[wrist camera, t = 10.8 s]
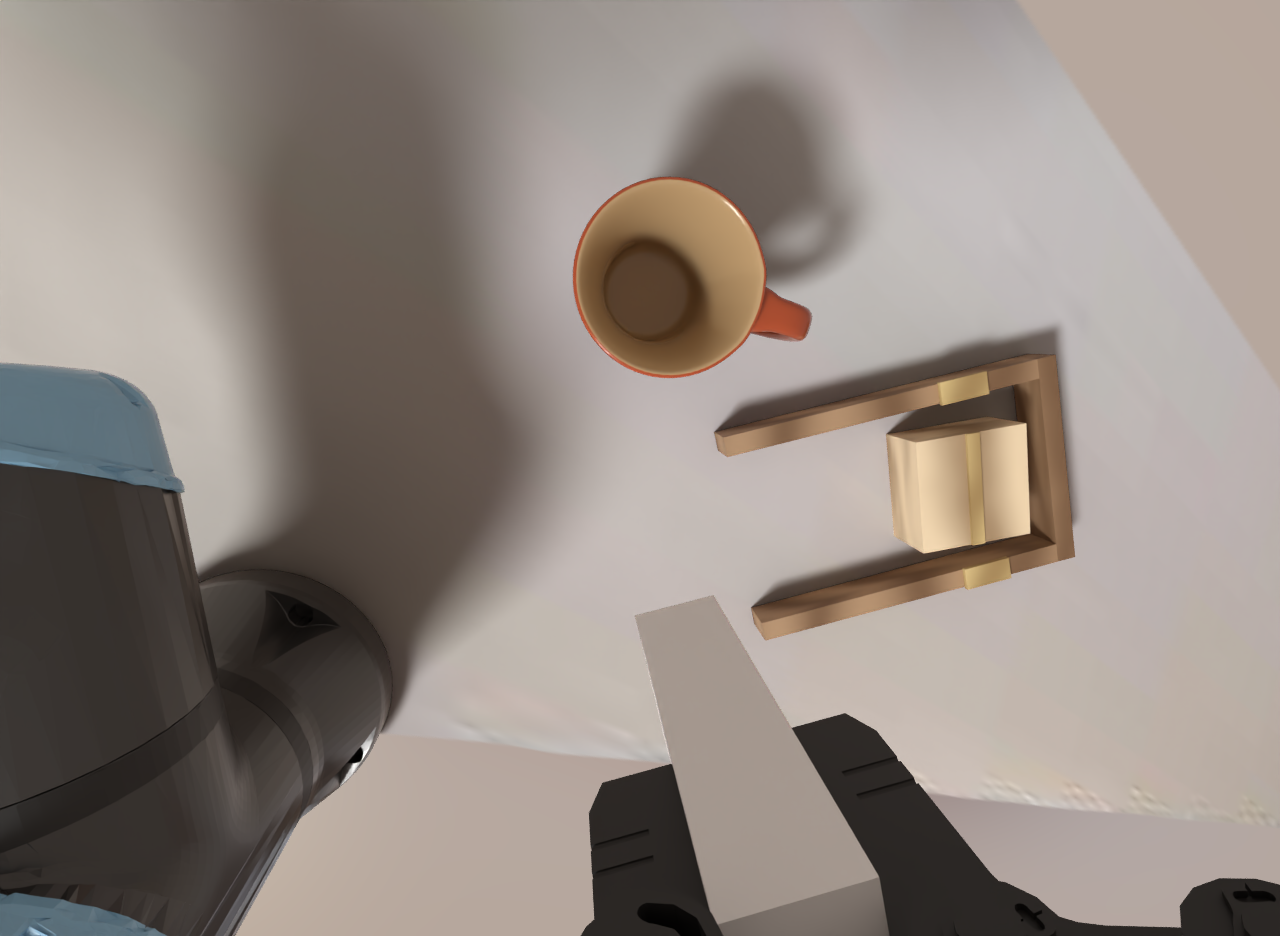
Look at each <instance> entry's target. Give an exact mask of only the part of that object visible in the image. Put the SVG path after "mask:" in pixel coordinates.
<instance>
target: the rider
mask: <svg viewBox="0 0 1280 936" xmlns="http://www.w3.org/2000/svg"><path fill="white" fill-rule="evenodd" d="M886 439H887V451H888V464H889V477H890V489H891V502H892V515H893V527H894V536H895V537H897V538H898V539H900V540H902V541H903V542H905V543H907V544H908V545H910V546H912V547H913V548H915V549H917V550H918V551H920V552H922V553H923V554H924V553H929V552H935V551H940V550H945V549H950V548H956V547H961V546H966V545H979V544H984V543H985V542H988V541H993V540H998V539H1004V538H1009V537H1014V536H1019V535H1025V534H1030V510H1029V482H1028V455H1027V427H1026V423H1022V422H1016V421H1010V420H1005V419H999V418H993V417H982V418H976V419H970V420H965V421H959V422H953V423H948V424H942V425H936V426H930V427H925V428H919V429H913V430H908V431H902V432H896V433H890V434H886Z"/></svg>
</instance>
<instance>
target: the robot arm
mask: <svg viewBox="0 0 1280 936" xmlns="http://www.w3.org/2000/svg"><path fill="white" fill-rule="evenodd" d="M183 492H185V491H184V485H183V484H182V482H181V480H180V479H178V478H177V477H175V475H174V472H173V469H172V466H171V462H170V458H169V455H168V451H167V448H166V444H165V441H164V437H163V434H162V430H161V426H160V423H159V419H158V416H157V413H156V410H155V408H154V406H153V404H152V403H151V401H150V400H149V399H148V397H147V396H146V395H145V394H144V393H143V392H142V391H141V390H140V389H138V388H137V387H136V386H134V385H133V384H131V383H129V382H128V381H126V380H124V379H121V378H119V377H117V376H114V375H111V374H108V373H104V372H99V371H93V370H86V369H76V368H65V367H54V366H43V365H29V364H14V363H0V936H235V935H236V933H237V931H238V929H239V928H240V926H241V924H242V922H243V921H244V919H245V917H246V915H247V913H248V912H249V910H250V908H251V906H252V904H253V903H254V901H255V899H256V897H257V895H258V893H259V892H260V890H261V888H262V886H263V885H264V883H265V881H266V879H267V877H268V875H269V874H270V872H271V870H272V868H273V867H274V865H275V863H276V861H277V859H278V857H279V856H280V854H281V852H282V850H283V848H284V847H285V845H286V843H287V841H288V840H289V838H290V836H291V834H292V832H293V830H294V828H295V827H296V825H297V823H298V821H299V819H300V818H301V817H303V816H304V815H305V814H307V813H308V812H309V811H310V810H312V809H313V808H314V807H315V806H317V805H318V804H319V803H320V802H322V801H323V800H324V799H325V798H326V797H328V796H329V795H330V794H332V793H333V792H334V791H335V790H337V789H338V788H339V787H340V786H341V785H343V784H344V783H345V782H346V781H347V780H348V779H349V778H350V777H351V776H352V775H353V774H354V773H355V772H356V771H357V770H358V768H359V767H360V766H361V765H362V763H363V762H364V761H365V759H366V758H367V757H368V755H369V753H370V752H371V750H372V748H373V746H374V744H375V742H376V740H377V738H378V736H379V734H380V732H381V730H382V728H383V726H384V723H385V721H386V718H387V715H388V712H389V708H390V703H391V696H392V675H391V668H390V664H389V660H388V656H387V653H386V650H385V648H384V645H383V643H382V641H381V639H380V637H379V635H378V634H377V632H376V630H375V629H374V627H373V626H372V625H371V623H370V622H369V621H368V619H367V618H366V617H365V616H364V615H363V614H362V613H361V611H360V610H359V609H358V608H356V607H355V606H354V605H353V604H352V603H351V602H350V601H348V600H347V599H346V598H345V597H343V596H342V595H340V594H339V593H337V592H336V591H334V590H332V589H331V588H329V587H327V586H325V585H323V584H321V583H319V582H316V581H314V580H311V579H309V578H306V577H303V576H299V575H295V574H291V573H286V572H280V571H272V570H246V571H238V572H232V573H227V574H223V575H219V576H216V577H213V578H210V579H208V580H205V581H203V582H201V583H199V581H198V577H197V572H196V567H195V562H194V557H193V552H192V548H191V543H190V538H189V533H188V528H187V523H186V519H185V514H184V509H183V504H182V499H181V494H180V493H183ZM635 619H636V623H637V627H638V631H639V635H640V639H641V643H642V647H643V652H644V656H645V660H646V664H647V668H648V672H649V676H650V680H651V684H652V689H653V693H654V697H655V701H656V705H657V709H658V713H659V717H660V721H661V726H662V730H663V734H664V738H665V742H666V746H667V750H668V754H669V758H670V762H671V764H669V765H665V766H662V767H658V768H655V769H651V770H647V771H644V772H640V773H637V774H633V775H629V776H626V777H622V778H619V779H615V780H611V781H608V782H604V783H602V785H601V787H600V789H599V792H598V794H597V796H596V798H595V801H594V803H593V805H592V808H591V810H590V813H589V824H590V842H591V849H592V851H591V861H592V874H593V901H594V920H593V921H592V922H591V923H590V924H589V925H588V926H587V927H586V928H585V930H584V931H583V933H582V935H581V936H1280V885H1278V884H1274V883H1270V882H1266V881H1262V880H1258V879H1227V878H1222V879H1221V878H1219V879H1216V880H1214V881H1211V882H1208V883H1205V884H1202V885H1200V886H1197V887H1194V888H1193V889H1192V890H1191V891H1190V893H1189V894H1188V896H1187V897H1186V898H1185V900H1184V901H1183V902H1182V904H1181V905H1180V916H1181V928H1175V927H1173V928H1172V927H1137V926H1103V925H1096V924H1087V923H1078V922H1075V921H1072V920H1068V919H1065V918H1062V917H1059V916H1057V915H1056V914H1055V913H1054V912H1053V911H1052V910H1050V909H1049V908H1048V907H1047V906H1046V905H1045V904H1044V903H1042V902H1041V901H1040V900H1039V899H1038V898H1037V897H1035V896H1033V895H1031V894H1029V893H1026V892H1025V891H1023V890H1020V889H1018V888H1016V887H1014V886H1012V885H1010V884H1008V883H1006V882H1001V881H998V880H997V879H996V878H995V877H994V876H993V875H992V874H991V873H990V872H989V871H988V870H987V868H986V867H985V866H984V864H983V863H982V862H981V861H980V859H979V858H978V857H977V856H976V854H975V853H974V852H973V851H972V849H971V848H970V847H969V846H968V844H967V843H966V842H965V841H964V840H963V838H962V837H961V836H960V835H959V833H958V832H957V831H956V829H955V828H954V827H953V826H952V825H951V823H950V822H949V821H948V820H947V818H946V817H945V816H944V815H943V813H942V812H941V811H940V810H939V808H938V807H937V806H936V805H935V803H934V802H933V801H932V800H931V798H930V797H929V796H928V795H927V793H926V792H925V791H924V790H923V788H922V787H921V786H920V785H919V783H918V784H916V782H915V780H914V777H913V776H912V775H911V773H910V772H909V771H908V770H907V768H906V767H905V766H904V765H903V763H902V762H901V761H898V759H897V756H896V755H895V753H894V752H893V751H892V750H891V749H890V747H889V746H888V745H887V744H886V742H885V741H884V740H883V739H882V737H881V736H880V735H879V734H878V732H877V731H876V730H874V729H872V728H871V727H869V726H867V725H865V724H863V723H862V722H860V721H858V720H856V719H855V718H853V717H851V716H849V715H847V714H846V713H844V714H841V715H837V716H833V717H830V718H826V719H822V720H819V721H815V722H812V723H808V724H804V725H801V726H797V727H793V728H791V726H790V725H789V723H788V721H787V719H786V718H785V716H784V714H783V713H782V711H781V709H780V708H779V706H778V704H777V702H776V701H775V699H774V697H773V696H772V694H771V692H770V691H769V689H768V687H767V685H766V684H765V682H764V680H763V679H762V677H761V675H760V674H759V672H758V670H757V668H756V667H755V665H754V663H753V662H752V660H751V658H750V657H749V655H748V653H747V651H746V650H745V648H744V646H743V645H742V643H741V641H740V640H739V638H738V636H737V635H736V633H735V631H734V629H733V628H732V626H731V624H730V623H729V621H728V619H727V618H726V616H725V614H724V612H723V611H722V609H721V607H720V606H719V604H718V602H717V601H716V599H715V597H714V595H713V596H709V597H705V598H701V599H697V600H693V601H689V602H686V603H682V604H678V605H674V606H670V607H666V608H662V609H659V610H655V611H651V612H647V613H643V614H639V615H636V616H635Z"/></svg>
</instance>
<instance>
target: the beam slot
mask: <svg viewBox="0 0 1280 936" xmlns="http://www.w3.org/2000/svg"><path fill="white" fill-rule="evenodd" d="M1011 385H1013V386H1014V395H1015V404H1016V413H1017V422H1022V423H1026V427H1027V455H1028V482H1029V510H1030V534H1026V535H1022V536H1018V537H1015V538H1011V539H1007V540H1003V541H1000V542H996V543H992V544H988V545H985V546H981V547H977V548H973V549H970V550H966V551H962V552H958V553H955V554H951V555H947V556H943V557H940V558H936V559H932V560H928V561H925V562H921V563H917V564H913V565H910V566H906V567H902V568H898V569H895V570H891V571H887V572H884V573H880V574H876V575H872V576H869V577H865V578H861V579H857V580H854V581H850V582H846V583H842V584H839V585H835V586H831V587H827V588H824V589H820V590H816V591H812V592H809V593H805V594H801V595H797V596H794V597H790V598H786V599H782V600H779V601H775V602H771V603H767V604H764V605H760V606H756V607H752V608H751V610H752V614H753V619H754V624H755V625H756V627H757V628H758V630H759V631H760V633H761V634H762V636H763V637H764V639H765V640H769V639H773V638H776V637H780V636H784V635H788V634H791V633H795V632H799V631H802V630H806V629H810V628H813V627H817V626H821V625H825V624H828V623H832V622H836V621H839V620H843V619H847V618H850V617H854V616H858V615H861V614H865V613H869V612H873V611H876V610H880V609H884V608H887V607H891V606H895V605H898V604H902V603H906V602H910V601H913V600H917V599H921V598H924V597H928V596H932V595H935V594H939V593H943V592H947V591H950V590H954V589H958V588H961V587H965V588H966V589H967V590H968V589H972V588H976V587H979V586H983V585H987V584H991V583H994V582H998V581H1002V580H1005V579H1009V578H1011V574H1013V573H1017V572H1021V571H1024V570H1028V569H1032V568H1035V567H1039V566H1043V565H1046V564H1050V563H1054V562H1057V561H1061V560H1065V559H1069V558H1072V557H1075V551H1074V541H1073V530H1072V520H1071V509H1070V499H1069V489H1068V478H1067V468H1066V458H1065V447H1064V437H1063V427H1062V416H1061V406H1060V396H1059V385H1058V375H1057V365H1056V355H1047V354H1026V355H1022V356H1018V357H1014V358H1010V359H1006V360H1002V361H998V362H994V363H990V364H986V365H982V366H978V367H974V368H970V369H966V370H962V371H958V372H954V373H950V374H945V375H941V376H937V377H933V378H929V379H925V380H921V381H917V382H913V383H909V384H905V385H901V386H897V387H893V388H889V389H885V390H881V391H877V392H873V393H869V394H865V395H861V396H857V397H853V398H849V399H845V400H841V401H837V402H833V403H829V404H825V405H821V406H817V407H813V408H809V409H805V410H801V411H797V412H793V413H789V414H785V415H781V416H777V417H773V418H769V419H765V420H761V421H757V422H753V423H749V424H745V425H741V426H737V427H733V428H729V429H725V430H721V431H717V432H714V434H715V438H716V443H717V448H718V451H720V452H721V453H722V454H724V455H725V456H727V457H730V456H733V455H737V454H741V453H745V452H749V451H753V450H757V449H761V448H765V447H769V446H773V445H777V444H781V443H785V442H789V441H793V440H797V439H801V438H805V437H809V436H813V435H817V434H821V433H825V432H829V431H833V430H837V429H841V428H845V427H849V426H853V425H857V424H861V423H865V422H869V421H872V420H876V419H880V418H884V417H888V416H892V415H896V414H900V413H904V412H908V411H912V410H916V409H920V408H924V407H928V406H932V405H936V404H940V405H947V404H951V403H955V402H959V401H963V400H967V399H971V398H975V397H979V396H983V395H987V394H989V391H992V390H996V389H1000V388H1004V387H1008V386H1011Z"/></svg>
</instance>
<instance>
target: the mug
mask: <svg viewBox="0 0 1280 936" xmlns="http://www.w3.org/2000/svg"><path fill="white" fill-rule="evenodd" d="M766 278H767V273H766V264H765V259H764V255H763V252H762V249H761V246H760V243H759V240H758V238H757V235H756V233H755V231H754V229H753V227H752V225H751V224H750V222H749V221H748V219H747V218H746V216H745V215H744V214H743V212H742V211H741V210H740V209H739V208H738V207H737V206H736V205H735V204H734V203H733V202H732V201H731V200H730V199H729V198H728V197H726V196H725V195H724V194H722V193H721V192H719V191H718V190H716V189H714V188H712V187H710V186H708V185H706V184H704V183H701V182H699V181H695V180H692V179H687V178H681V177H657V178H651V179H647V180H643V181H640V182H637V183H634V184H632V185H630V186H628V187H626V188H624V189H622V190H620V191H619V192H617V193H616V194H614V195H613V196H612V197H611V198H609V199H608V200H607V201H606V202H605V203H604V204H603V205H602V206H601V207H600V208H599V209H598V210H597V211H596V213H595V214H594V215H593V216H592V218H591V219H590V221H589V222H588V224H587V226H586V228H585V229H584V231H583V233H582V236H581V238H580V241H579V244H578V247H577V250H576V254H575V259H574V267H573V288H574V295H575V301H576V304H577V308H578V311H579V314H580V316H581V319H582V321H583V323H584V325H585V327H586V329H587V331H588V332H589V334H590V335H591V337H592V338H593V339H594V341H595V342H596V343H597V345H598V346H599V347H600V348H601V349H602V350H603V351H604V352H605V353H606V354H607V355H609V356H610V357H611V358H612V359H614V360H615V361H616V362H618V363H619V364H621V365H623V366H624V367H626V368H628V369H630V370H633V371H635V372H638V373H641V374H644V375H648V376H652V377H659V378H680V377H686V376H691V375H694V374H698V373H701V372H703V371H706V370H708V369H710V368H712V367H714V366H716V365H717V364H719V363H720V362H722V361H724V360H725V359H726V358H728V357H729V356H730V355H731V354H733V353H734V352H735V351H736V350H737V349H738V348H739V347H740V346H741V345H742V344H743V343H744V342H745V341H746V339H747V338H748V336H749V335H750V333H751V334H755V335H759V336H764V337H768V338H772V339H777V340H783V341H802V340H803V339H804V338H805V337H806V336H807V334H808V331H809V328H810V325H811V321H812V313H811V312H810V310H809V309H807V308H806V307H804V306H802V305H800V304H797V303H794V302H792V301H789V300H786V299H784V298H781V297H780V296H778V295H777V294H776V293H774V292H773V291H772V290H770V289H769V288H767V287H766Z"/></svg>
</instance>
